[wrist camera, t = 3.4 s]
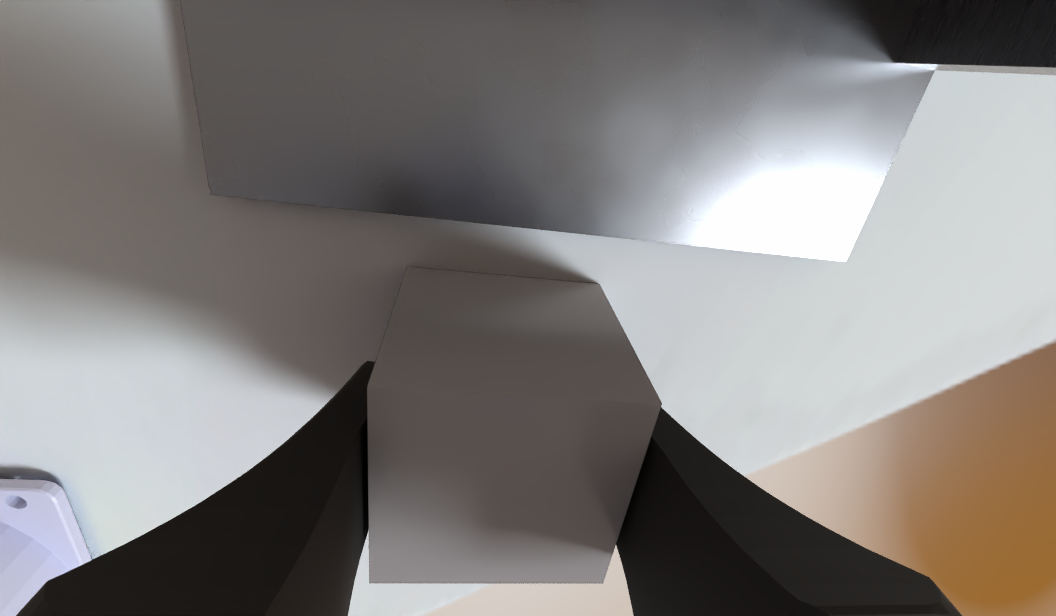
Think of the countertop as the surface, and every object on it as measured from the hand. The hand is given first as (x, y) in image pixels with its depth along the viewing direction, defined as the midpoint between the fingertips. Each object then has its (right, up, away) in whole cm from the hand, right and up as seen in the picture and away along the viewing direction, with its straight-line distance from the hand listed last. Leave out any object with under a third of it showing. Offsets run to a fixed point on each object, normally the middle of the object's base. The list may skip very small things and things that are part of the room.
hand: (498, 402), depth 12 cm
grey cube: (0, +1, +2) cm, 2 cm away
